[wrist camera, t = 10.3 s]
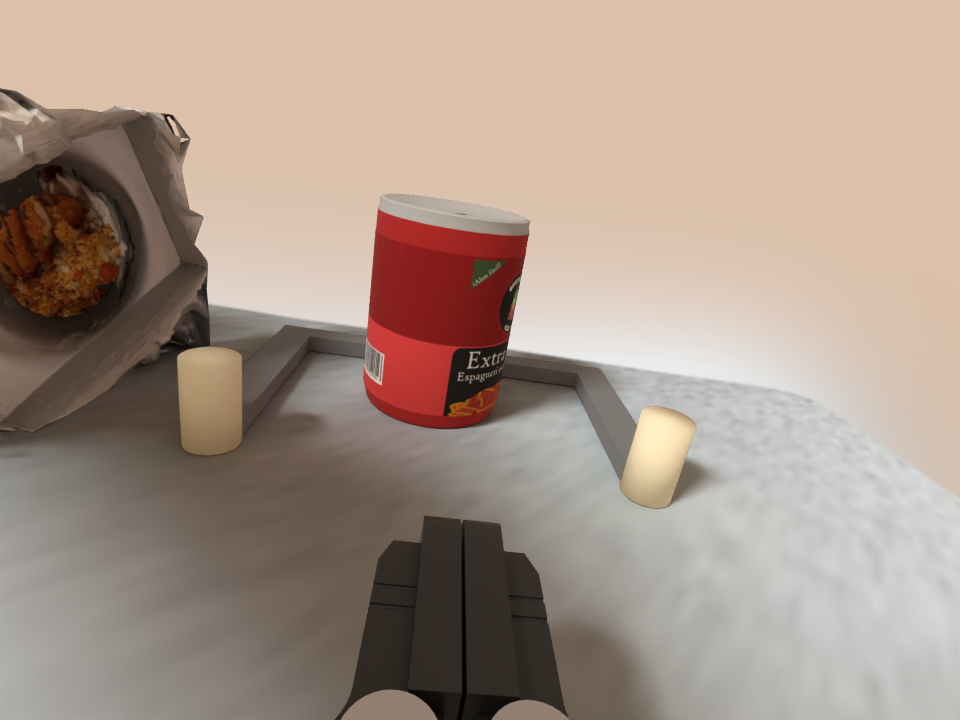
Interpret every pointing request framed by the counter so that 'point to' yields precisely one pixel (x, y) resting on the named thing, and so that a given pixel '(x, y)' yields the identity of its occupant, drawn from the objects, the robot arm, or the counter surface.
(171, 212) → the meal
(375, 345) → the canned food
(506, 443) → the counter surface
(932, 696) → the counter surface
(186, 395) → the frame
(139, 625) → the counter surface
